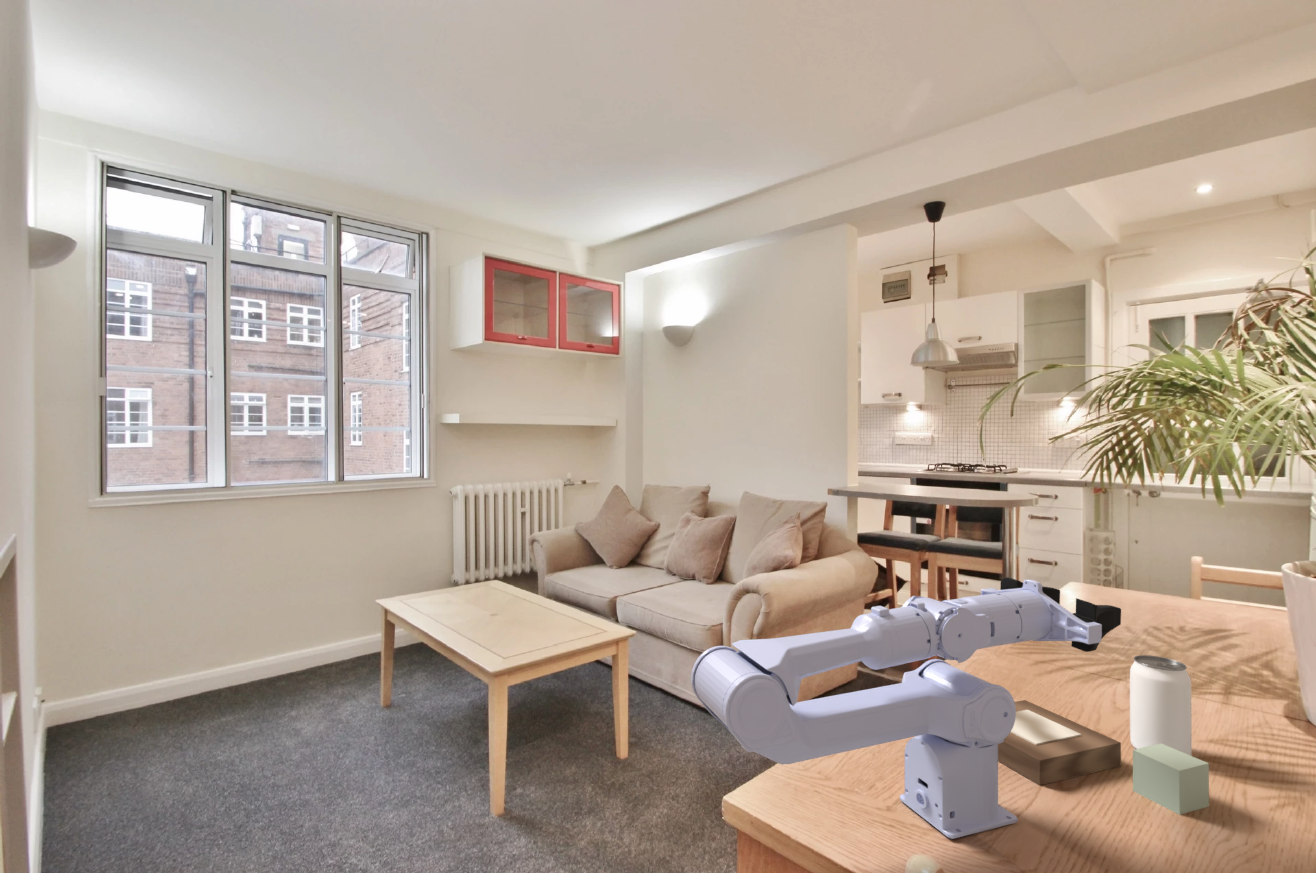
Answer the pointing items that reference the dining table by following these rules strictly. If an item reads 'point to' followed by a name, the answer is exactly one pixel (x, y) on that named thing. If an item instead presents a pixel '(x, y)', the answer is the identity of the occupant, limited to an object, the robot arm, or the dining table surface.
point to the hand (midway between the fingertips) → (1086, 606)
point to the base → (1054, 746)
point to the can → (1160, 703)
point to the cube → (1171, 778)
